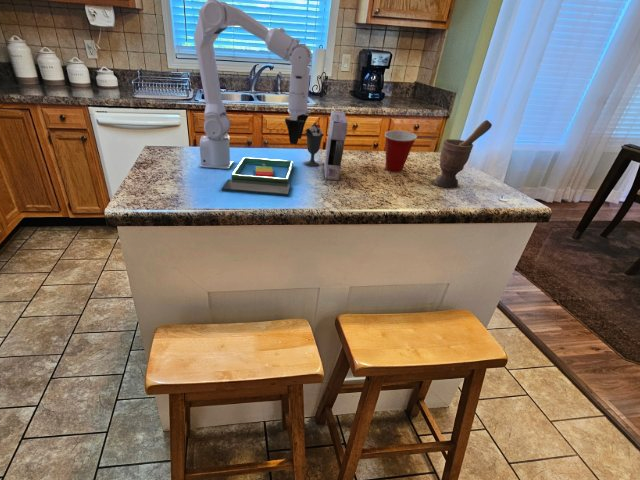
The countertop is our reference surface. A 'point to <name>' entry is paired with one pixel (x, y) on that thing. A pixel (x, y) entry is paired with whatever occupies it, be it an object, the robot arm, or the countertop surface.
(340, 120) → the cake pan box
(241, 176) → the baking frame
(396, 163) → the plastic cup
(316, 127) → the sundae
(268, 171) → the popsicle
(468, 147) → the mortar and pestle
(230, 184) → the slate board
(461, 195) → the countertop surface
